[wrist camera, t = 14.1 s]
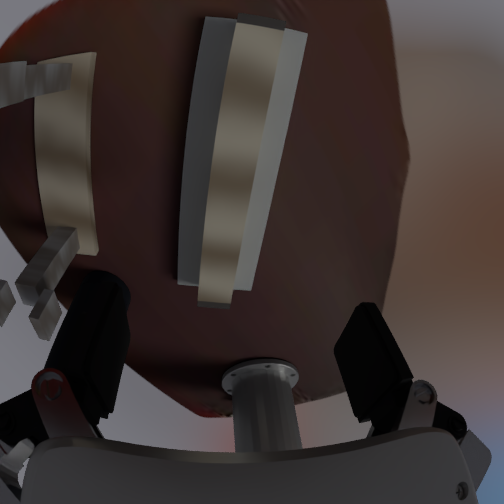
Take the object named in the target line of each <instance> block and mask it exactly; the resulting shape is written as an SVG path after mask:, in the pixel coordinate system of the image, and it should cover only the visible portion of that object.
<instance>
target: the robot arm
mask: <svg viewBox="0 0 504 504" xmlns="http://www.w3.org/2000/svg"><path fill="white" fill-rule="evenodd" d="M129 343H130V330H129V325H128V320H127V314H126V308H125V302H124V296H123V290H122V287H118V284H117V282H110V281H102V282H101V284H100V286H99V288H98V290H97V292H96V294H95V296H94V298H93V300H92V302H91V305H90V307H89V309H88V311H87V312H82V313H81V314H80V315H79V317H78V319H77V321H76V324H75V326H74V328H73V330H72V332H71V335H70V337H69V339H68V342H67V344H66V346H65V349H64V351H63V354H62V356H61V359H60V361H59V364H58V366H57V369H54V368H46V369H43V370H41V371H40V372H38V373H37V374H36V375H35V376H34V378H33V380H32V384H31V389H30V390H28V391H26V392H24V393H22V394H20V395H18V396H16V397H14V398H12V399H10V400H8V401H6V402H4V403H1V404H0V504H478V500H477V496H476V491H477V489H478V487H479V485H480V483H481V482H482V480H483V477H484V476H485V474H486V472H487V470H488V467H489V465H490V463H491V453H490V450H489V449H488V448H487V447H486V446H485V445H484V444H483V443H482V442H481V441H480V440H479V439H478V438H477V437H476V436H475V435H474V434H473V433H472V432H471V431H470V430H468V431H467V425H466V421H465V419H464V418H463V417H462V415H460V414H459V413H457V412H456V411H454V410H452V409H450V408H449V407H447V406H445V405H443V404H442V403H440V402H438V401H437V393H436V390H435V388H434V387H433V386H432V385H431V384H430V383H429V382H427V381H424V380H417V381H415V382H414V383H413V382H412V379H413V378H414V377H413V375H412V373H411V371H410V368H409V366H408V364H407V362H406V360H405V358H404V357H403V354H402V352H401V351H400V348H399V347H398V345H397V343H396V341H395V339H394V337H393V335H392V333H391V331H390V329H389V328H388V326H387V324H386V322H385V320H384V318H383V317H382V315H381V313H380V311H379V309H378V308H377V306H376V304H375V303H370V302H362V303H360V304H359V306H356V308H355V310H354V312H353V314H352V315H351V317H350V319H349V321H348V323H347V325H346V327H345V329H344V330H343V332H342V334H341V336H340V338H339V339H338V341H337V343H336V345H335V347H334V355H335V358H336V361H337V364H338V367H339V370H340V373H341V376H342V379H343V382H344V385H345V388H346V391H347V394H348V397H349V400H350V404H351V407H352V410H353V413H354V416H355V417H357V418H358V421H359V423H362V422H367V421H370V420H371V423H372V426H371V428H370V430H369V433H368V435H367V437H366V438H365V439H361V440H355V441H350V442H345V443H340V444H334V445H327V446H321V447H314V448H305V449H303V448H302V443H301V438H300V433H299V427H298V422H297V417H296V411H295V406H294V401H293V395H292V390H291V388H292V387H294V386H295V384H296V383H297V381H298V379H299V375H298V371H297V369H296V367H295V366H294V365H292V364H291V363H289V362H286V361H283V360H278V359H256V360H250V361H246V362H242V363H239V364H237V365H235V366H233V367H231V368H230V369H228V370H227V371H226V372H225V373H224V374H223V376H222V387H223V389H224V390H225V391H226V392H227V393H228V394H230V395H232V405H233V420H234V421H233V422H234V436H235V452H236V453H229V452H225V453H224V452H200V451H186V450H176V449H167V448H159V447H151V446H144V445H137V444H131V443H126V442H120V441H113V440H108V439H105V438H104V437H103V435H102V433H101V432H100V430H99V428H98V427H97V424H99V420H100V417H101V418H105V419H108V414H109V413H113V410H114V406H115V401H116V396H117V392H118V387H119V383H120V379H121V374H122V370H123V366H124V362H125V358H126V354H127V351H128V347H129ZM27 458H30V459H29V461H28V464H27V468H26V471H25V476H24V480H23V486H22V488H21V487H20V485H19V482H18V473H19V471H20V470H21V468H22V467H23V466H24V465H23V462H25V460H26V459H27Z"/></svg>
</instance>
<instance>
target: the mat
mask: <svg viewBox="0 0 504 504" xmlns="http://www.w3.org/2000/svg"><path fill="white" fill-rule="evenodd" d="M236 22H237V20H236V19H227V18H217V17H206V18H205V22H204V27H203V32H202V37H201V42H200V47H199V52H198V58H197V64H196V70H195V76H194V82H193V89H192V95H191V102H190V110H189V118H188V126H187V134H186V144H185V153H184V164H183V175H182V188H181V203H180V221H179V244H178V284H180V285H190V286H199V278H200V266H201V255H202V244H203V234H204V224H205V215H206V206H207V197H208V189H209V181H210V173H211V166H212V158H213V151H214V144H215V137H216V131H217V124H218V118H219V112H220V106H221V100H222V94H223V88H224V83H225V77H226V72H227V66H228V61H229V56H230V51H231V46H232V41H233V36H234V32H235V27H236ZM307 35H308V34H307V33H303V32H299V31H295V30H291V29H287V28H285V30H284V34H283V39H282V44H281V48H280V53H279V58H278V63H277V67H276V72H275V77H274V82H273V86H272V91H271V96H270V101H269V106H268V111H267V116H266V121H265V126H264V130H263V135H262V140H261V145H260V150H259V156H258V161H257V166H256V171H255V176H254V181H253V186H252V191H251V196H250V202H249V207H248V212H247V217H246V222H245V228H244V233H243V238H242V244H241V249H240V254H239V260H238V265H237V271H236V276H235V281H234V287H233V289H237V290H250V291H251V288H252V284H253V279H254V275H255V271H256V266H257V262H258V258H259V253H260V249H261V244H262V240H263V236H264V231H265V227H266V222H267V218H268V214H269V209H270V205H271V200H272V196H273V191H274V187H275V182H276V178H277V173H278V169H279V165H280V160H281V155H282V151H283V146H284V142H285V137H286V133H287V128H288V124H289V119H290V114H291V110H292V105H293V101H294V96H295V91H296V87H297V82H298V77H299V73H300V68H301V63H302V59H303V54H304V49H305V45H306V40H307Z"/></svg>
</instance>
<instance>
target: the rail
mask: <svg viewBox="0 0 504 504" xmlns="http://www.w3.org/2000/svg"><path fill="white" fill-rule="evenodd" d="M285 25H286V21H282V20H277V19H273V18H267V17H262V16H256V15H250V14H244V13H238V18H237V22H236V27H235V32H234V36H233V41H232V46H231V51H230V56H229V61H228V66H227V72H226V77H225V83H224V88H223V94H222V100H221V106H220V112H219V118H218V124H217V131H216V137H215V144H214V151H213V158H212V166H211V173H210V181H209V189H208V197H207V206H206V215H205V224H204V234H203V244H202V255H201V266H200V278H199V291H198V305H197V306H199V307H210V308H222V309H230V303H231V298H232V292H233V287H234V281H235V276H236V271H237V265H238V260H239V254H240V249H241V244H242V238H243V233H244V228H245V222H246V217H247V212H248V207H249V202H250V196H251V191H252V186H253V181H254V176H255V171H256V166H257V161H258V156H259V150H260V145H261V140H262V135H263V130H264V126H265V121H266V116H267V111H268V106H269V101H270V96H271V91H272V86H273V82H274V77H275V72H276V67H277V63H278V58H279V53H280V48H281V44H282V39H283V34H284V30H285Z"/></svg>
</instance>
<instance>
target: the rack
mask: <svg viewBox="0 0 504 504" xmlns="http://www.w3.org/2000/svg"><path fill="white" fill-rule="evenodd" d="M95 60H96V53H95V52H89V53H82V54H75V55H70V56H64V57H59V58H54V59H49V60H45V61H41V62H37V65H26V64H27V61H20V62H10V63H1V64H0V108H2V107H5V106H8V105H12V104H15V103H18V102H22V101H24V99H28V98H32V97H35V107H34V128H35V151H36V164H37V174H38V183H39V190H40V197H41V204H42V210H43V215H44V220H45V226H46V230H47V235H48V239H47V240H46V241H45V243H44V244H43V245H42V246H41V248H40V249H39V250H38V251H37V253H36V254H35V255H34V257H33V258H32V259H31V261H30V262H29V263H28V265H27V266H26V267H25V269H24V270H23V272H22V273H21V274H20V276H19V277H18V279H17V280H16V282H15V285H16V287H17V290H18V292H19V294H20V297H21V299H22V301H23V303H24V304H26V305H30V306H34V308H33V310H32V311H31V313H30V315H29V319H30V321H31V323H32V325H33V327H34V329H35V331H36V333H37V335H38V337H39V338H40V339H43V340H47V341H49V340H50V338H51V336H52V333H53V331H54V329H55V327H56V325H57V323H58V320H59V318H60V316H61V314H62V311H61V308H60V306H59V303H58V300H57V298H56V295H55V292H54V289H55V287H56V286H57V284H58V282H59V280H60V279H61V277H62V275H63V274H64V272H65V271H66V269H67V267H68V266H69V264H70V263H71V261H72V259H73V258H74V256H75V255H76V253H77V254H86V255H94V256H96V254H97V253H98V251H99V248H98V241H97V234H96V226H95V217H94V208H93V196H92V182H91V158H90V125H91V102H92V88H93V77H94V68H95ZM15 303H16V301H15V299H14V297H13V294H12V292H11V290H10V287H9V285H8V282H7V281H5V280H0V326H1V327H2V325H3V324H4V322H5V320H6V318H7V317H8V315H9V313H10V311H11V310H12V308H13V306H14V305H15Z"/></svg>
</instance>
